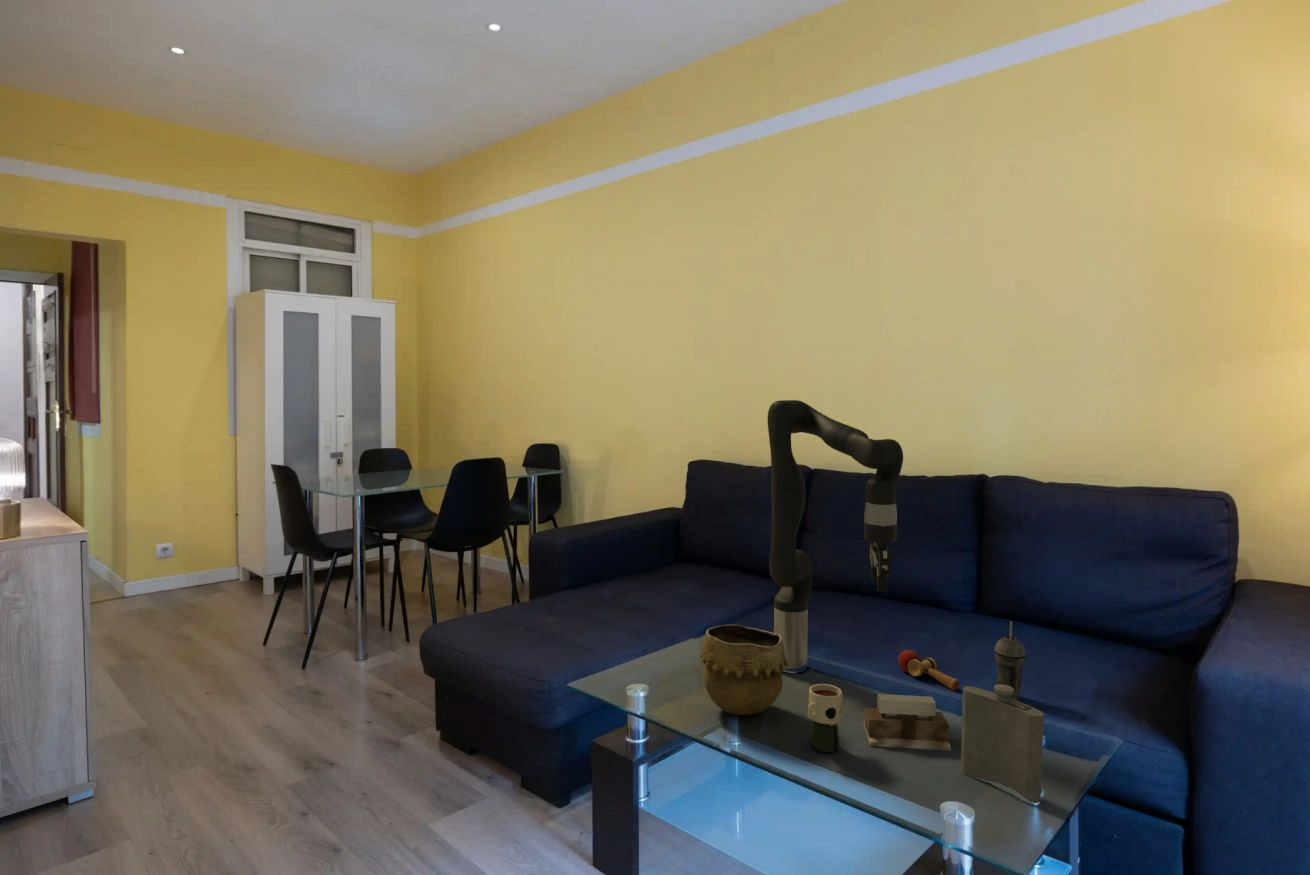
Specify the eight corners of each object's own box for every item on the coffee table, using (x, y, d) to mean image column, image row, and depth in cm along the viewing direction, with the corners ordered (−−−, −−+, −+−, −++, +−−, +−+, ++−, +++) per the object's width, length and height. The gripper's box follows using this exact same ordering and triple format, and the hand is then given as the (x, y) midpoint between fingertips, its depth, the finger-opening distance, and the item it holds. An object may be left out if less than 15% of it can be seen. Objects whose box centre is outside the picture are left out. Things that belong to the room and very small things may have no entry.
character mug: (821, 762, 153) (822, 702, 152) (795, 748, 159) (796, 691, 158) (853, 746, 159) (854, 689, 159) (828, 734, 165) (829, 678, 164)
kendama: (965, 691, 192) (910, 660, 207) (966, 670, 190) (910, 641, 205) (946, 702, 188) (891, 670, 203) (947, 681, 186) (891, 650, 201)
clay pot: (736, 685, 192) (736, 612, 191) (804, 711, 177) (804, 631, 176) (682, 710, 177) (682, 630, 176) (751, 740, 162) (751, 653, 161)
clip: (879, 734, 163) (880, 700, 162) (876, 727, 166) (877, 693, 165) (934, 737, 161) (935, 702, 161) (931, 730, 164) (932, 696, 164)
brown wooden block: (870, 745, 160) (870, 723, 159) (863, 724, 170) (863, 704, 169) (950, 750, 158) (951, 728, 157) (938, 729, 167) (939, 708, 167)
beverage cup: (1023, 694, 186) (1026, 618, 185) (1025, 705, 180) (1028, 626, 178) (992, 689, 189) (995, 614, 188) (992, 700, 183) (995, 622, 181)
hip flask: (957, 771, 149) (960, 676, 148) (968, 765, 152) (971, 672, 150) (1035, 807, 136) (1038, 704, 135) (1046, 800, 139) (1049, 699, 137)
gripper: (860, 515, 184) (859, 578, 185) (869, 526, 170) (868, 594, 171) (890, 516, 183) (889, 579, 184) (902, 527, 169) (901, 595, 170)
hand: (879, 586), depth 178 cm, fingers open, 8 cm apart
